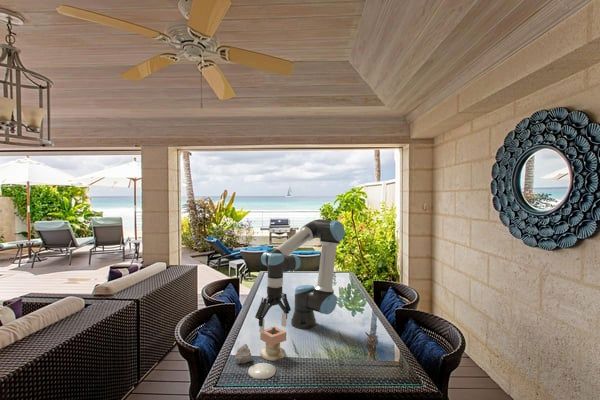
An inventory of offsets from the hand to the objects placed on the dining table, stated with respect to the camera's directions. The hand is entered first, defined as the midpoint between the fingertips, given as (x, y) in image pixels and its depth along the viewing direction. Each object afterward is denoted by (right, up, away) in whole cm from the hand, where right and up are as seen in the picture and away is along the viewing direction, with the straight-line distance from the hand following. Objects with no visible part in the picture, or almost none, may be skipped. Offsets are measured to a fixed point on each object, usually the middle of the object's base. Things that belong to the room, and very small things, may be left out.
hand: (273, 329), depth 155 cm
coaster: (-4, -12, -15) cm, 20 cm away
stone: (-13, -12, -5) cm, 19 cm away
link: (0, -5, 0) cm, 5 cm away
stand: (0, -12, 0) cm, 12 cm away
